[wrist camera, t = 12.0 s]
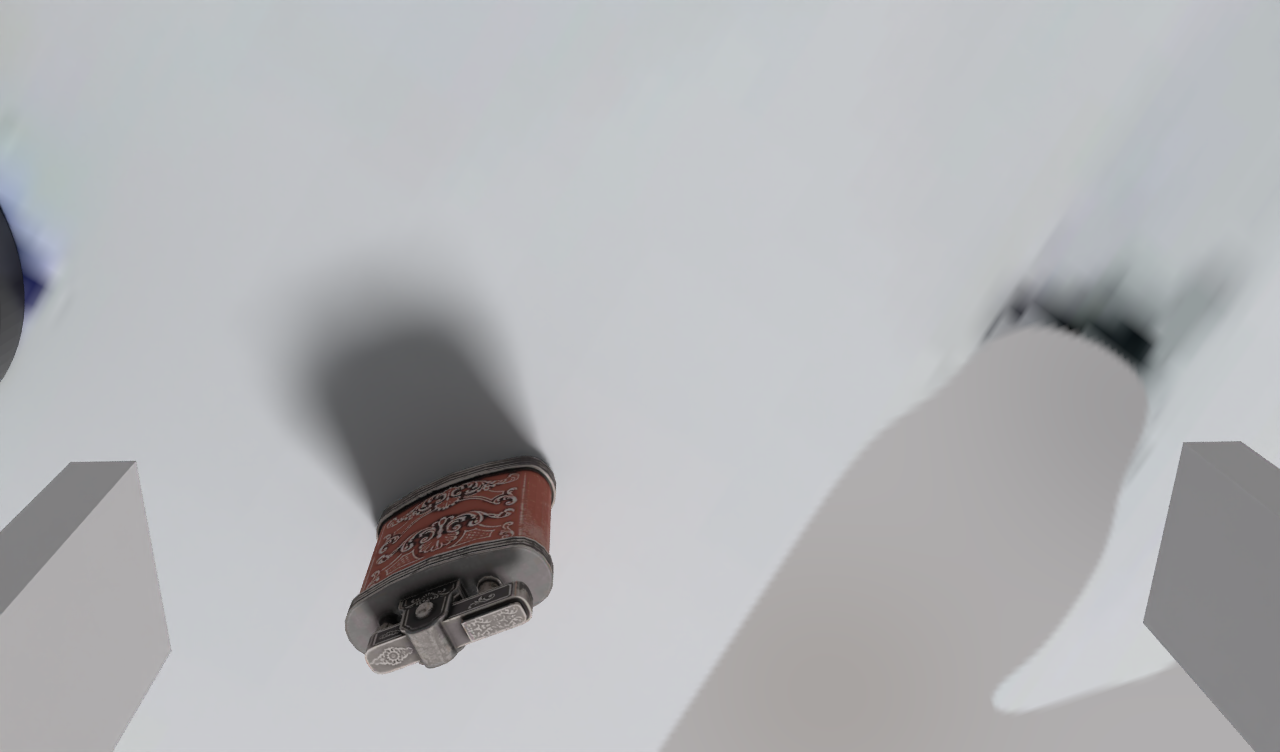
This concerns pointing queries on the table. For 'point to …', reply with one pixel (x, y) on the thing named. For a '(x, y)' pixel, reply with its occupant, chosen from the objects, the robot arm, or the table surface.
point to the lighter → (456, 564)
